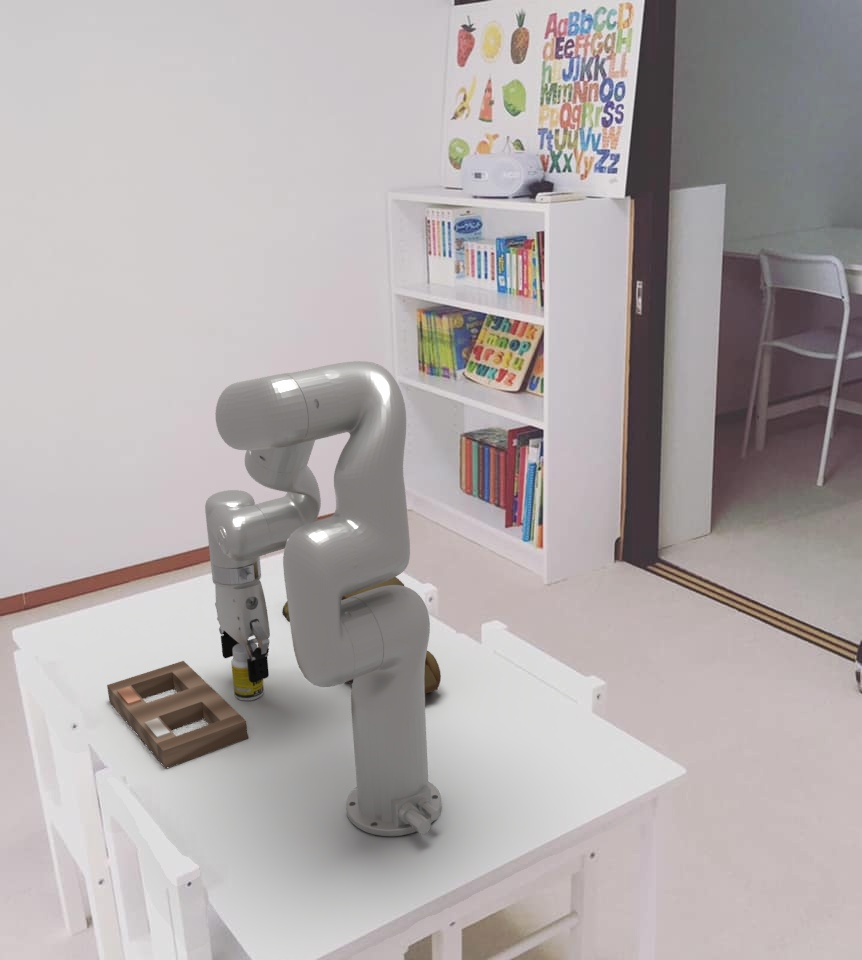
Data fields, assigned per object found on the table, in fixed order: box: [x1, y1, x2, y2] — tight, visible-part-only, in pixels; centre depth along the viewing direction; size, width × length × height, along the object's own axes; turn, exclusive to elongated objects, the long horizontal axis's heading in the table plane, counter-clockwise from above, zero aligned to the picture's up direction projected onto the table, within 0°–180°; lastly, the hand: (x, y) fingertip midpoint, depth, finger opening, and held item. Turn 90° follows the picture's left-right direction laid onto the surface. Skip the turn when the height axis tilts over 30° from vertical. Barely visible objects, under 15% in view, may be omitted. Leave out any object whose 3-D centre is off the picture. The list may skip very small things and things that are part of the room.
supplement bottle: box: [230, 643, 265, 702], centre depth 173 cm, size 5×5×8 cm
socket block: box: [106, 660, 249, 769], centre depth 168 cm, size 24×13×3 cm, turn 35°
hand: (245, 667), depth 174 cm, fingers open, 9 cm apart
